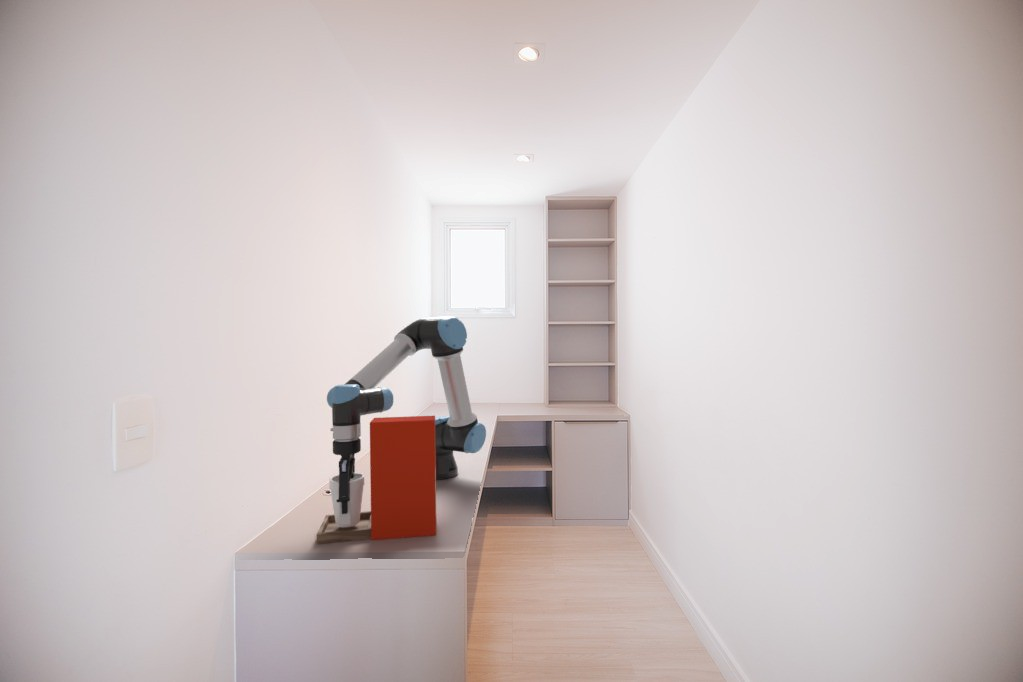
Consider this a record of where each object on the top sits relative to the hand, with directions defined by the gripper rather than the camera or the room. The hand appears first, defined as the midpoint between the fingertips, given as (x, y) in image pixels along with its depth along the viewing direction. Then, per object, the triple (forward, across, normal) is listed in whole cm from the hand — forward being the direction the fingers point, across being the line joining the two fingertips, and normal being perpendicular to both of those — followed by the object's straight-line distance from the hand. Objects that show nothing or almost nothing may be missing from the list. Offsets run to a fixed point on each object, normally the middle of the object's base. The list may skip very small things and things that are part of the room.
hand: (347, 517), depth 128 cm
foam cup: (+2, 0, 0) cm, 2 cm away
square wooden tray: (+4, 0, 0) cm, 4 cm away
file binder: (+4, +5, +16) cm, 17 cm away
